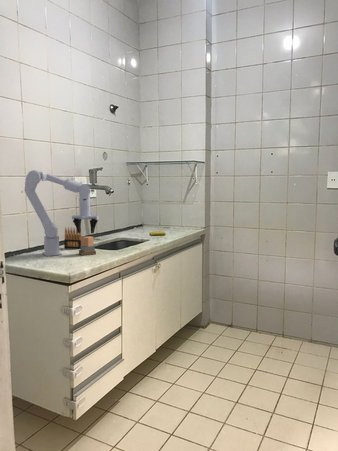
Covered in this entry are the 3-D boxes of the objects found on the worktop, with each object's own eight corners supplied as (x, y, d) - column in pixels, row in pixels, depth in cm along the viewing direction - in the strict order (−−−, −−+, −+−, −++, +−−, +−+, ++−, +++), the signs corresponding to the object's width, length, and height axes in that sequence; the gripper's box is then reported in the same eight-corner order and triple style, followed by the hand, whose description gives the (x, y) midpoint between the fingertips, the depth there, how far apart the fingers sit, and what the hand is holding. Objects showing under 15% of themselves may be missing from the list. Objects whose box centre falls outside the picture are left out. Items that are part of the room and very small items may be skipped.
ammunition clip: (64, 248, 213) (63, 227, 212) (66, 247, 215) (65, 226, 213) (81, 249, 210) (80, 227, 209) (82, 248, 212) (82, 227, 210)
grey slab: (80, 250, 197) (80, 245, 197) (90, 248, 200) (90, 244, 200) (84, 251, 193) (84, 246, 192) (94, 250, 196) (94, 245, 196)
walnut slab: (78, 254, 198) (78, 249, 198) (91, 253, 201) (91, 248, 201) (82, 257, 192) (82, 252, 192) (96, 255, 195) (95, 250, 195)
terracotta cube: (81, 245, 195) (81, 237, 194) (86, 244, 199) (86, 236, 199) (88, 246, 193) (88, 237, 193) (93, 245, 197) (93, 236, 197)
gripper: (68, 207, 196) (69, 233, 198) (94, 208, 192) (95, 234, 194) (75, 206, 203) (76, 231, 204) (100, 207, 199) (100, 232, 201)
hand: (85, 232), depth 200 cm, fingers open, 7 cm apart
